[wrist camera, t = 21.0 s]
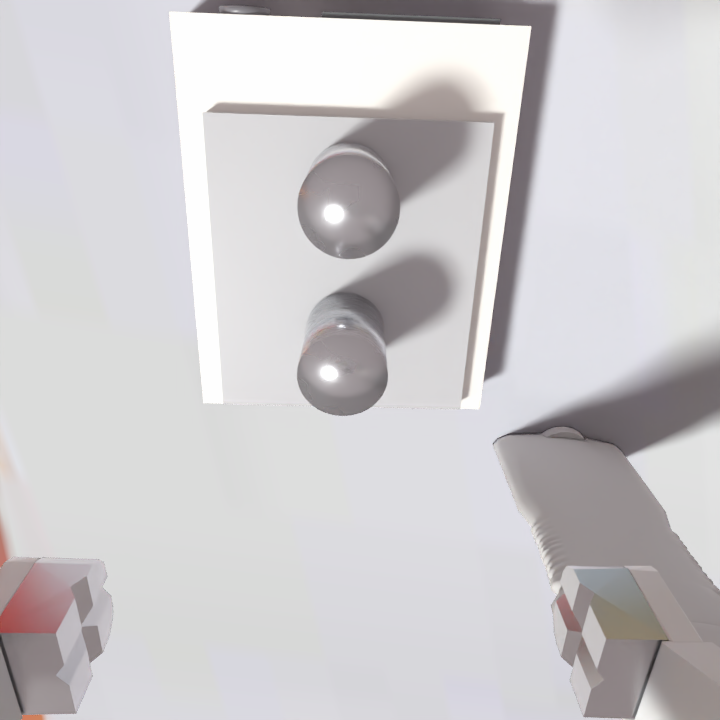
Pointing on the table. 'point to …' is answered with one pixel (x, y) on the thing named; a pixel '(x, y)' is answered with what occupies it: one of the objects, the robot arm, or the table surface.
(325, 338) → the cylinder
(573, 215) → the table surface
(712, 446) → the table surface
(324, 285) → the white rimmed tray
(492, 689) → the table surface
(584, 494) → the tall pale column
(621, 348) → the table surface
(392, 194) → the cylinder
